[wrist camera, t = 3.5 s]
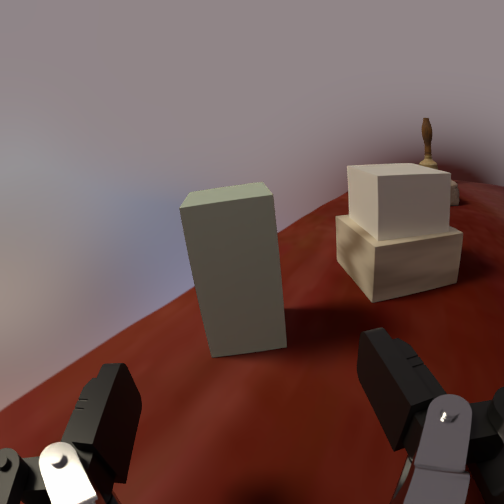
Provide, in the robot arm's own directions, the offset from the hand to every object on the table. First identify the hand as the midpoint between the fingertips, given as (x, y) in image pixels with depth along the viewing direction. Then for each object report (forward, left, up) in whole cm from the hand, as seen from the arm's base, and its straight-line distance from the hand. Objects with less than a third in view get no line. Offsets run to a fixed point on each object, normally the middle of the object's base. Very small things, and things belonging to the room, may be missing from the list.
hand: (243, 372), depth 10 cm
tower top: (-21, -5, -1) cm, 22 cm away
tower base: (-21, -5, -6) cm, 23 cm away
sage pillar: (-6, -9, -6) cm, 13 cm away
